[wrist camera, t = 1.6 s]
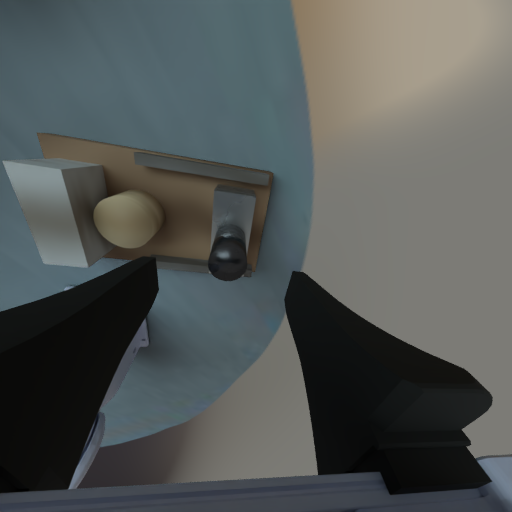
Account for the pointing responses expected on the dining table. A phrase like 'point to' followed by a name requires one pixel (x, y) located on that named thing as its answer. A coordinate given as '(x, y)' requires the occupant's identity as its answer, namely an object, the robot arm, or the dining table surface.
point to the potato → (129, 218)
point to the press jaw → (230, 231)
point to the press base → (118, 181)
